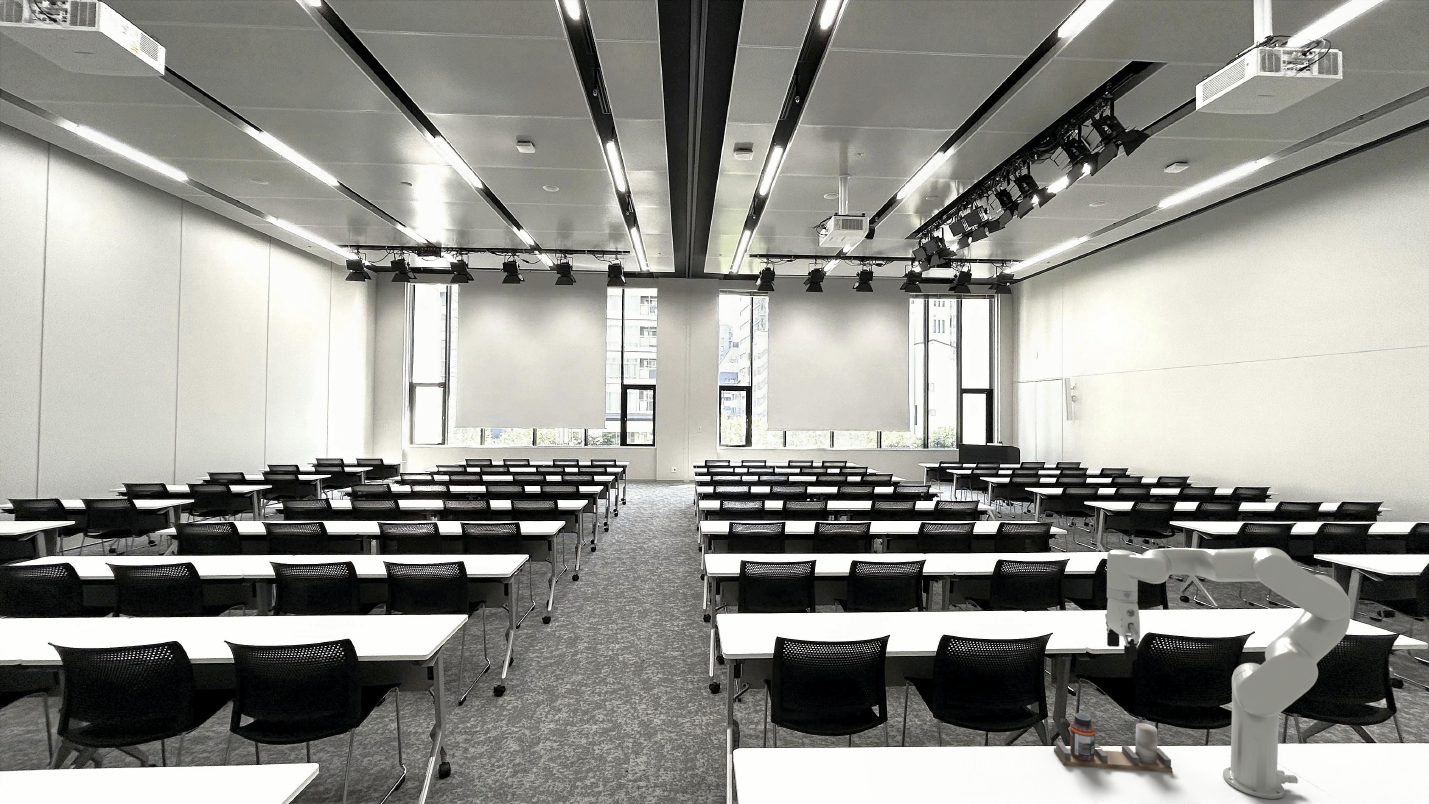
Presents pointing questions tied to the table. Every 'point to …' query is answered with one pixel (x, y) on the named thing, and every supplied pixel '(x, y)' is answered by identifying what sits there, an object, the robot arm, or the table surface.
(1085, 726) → the supplement bottle
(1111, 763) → the rail
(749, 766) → the table surface
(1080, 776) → the table surface
